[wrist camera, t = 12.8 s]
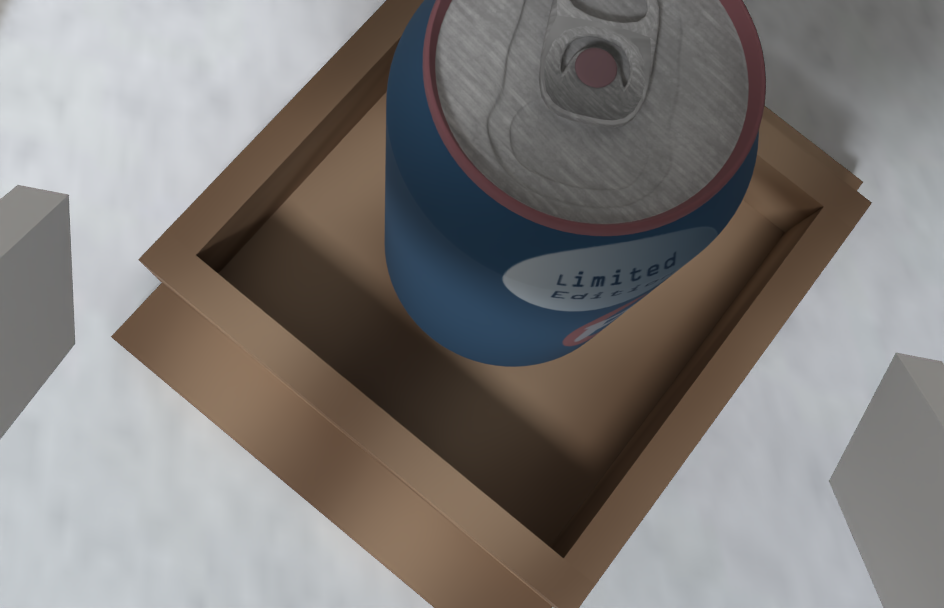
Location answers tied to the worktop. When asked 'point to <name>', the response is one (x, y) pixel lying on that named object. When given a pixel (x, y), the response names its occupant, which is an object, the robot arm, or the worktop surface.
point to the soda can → (561, 161)
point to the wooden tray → (448, 374)
